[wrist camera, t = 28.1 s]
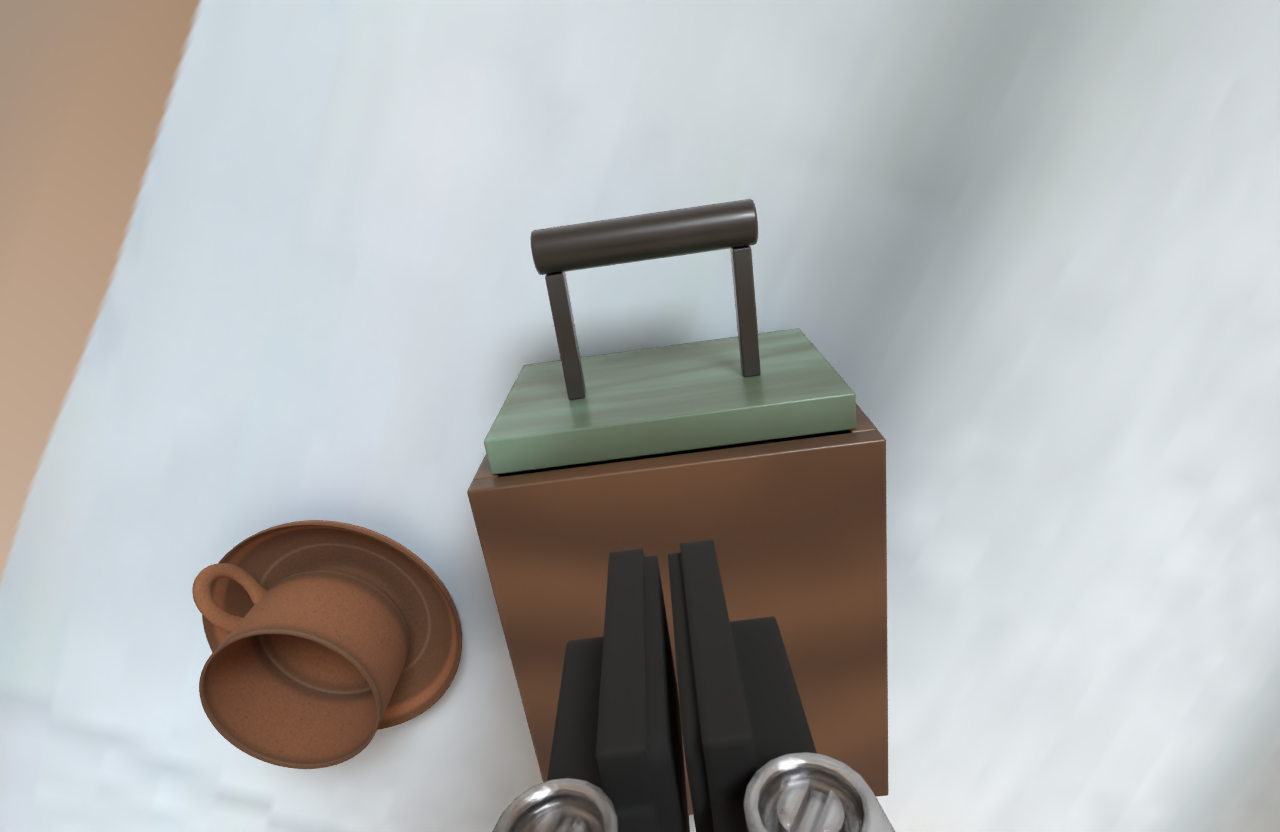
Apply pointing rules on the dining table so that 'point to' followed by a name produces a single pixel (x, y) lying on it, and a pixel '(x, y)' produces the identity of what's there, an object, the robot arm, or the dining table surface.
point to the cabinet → (747, 558)
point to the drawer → (663, 362)
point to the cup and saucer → (322, 641)
